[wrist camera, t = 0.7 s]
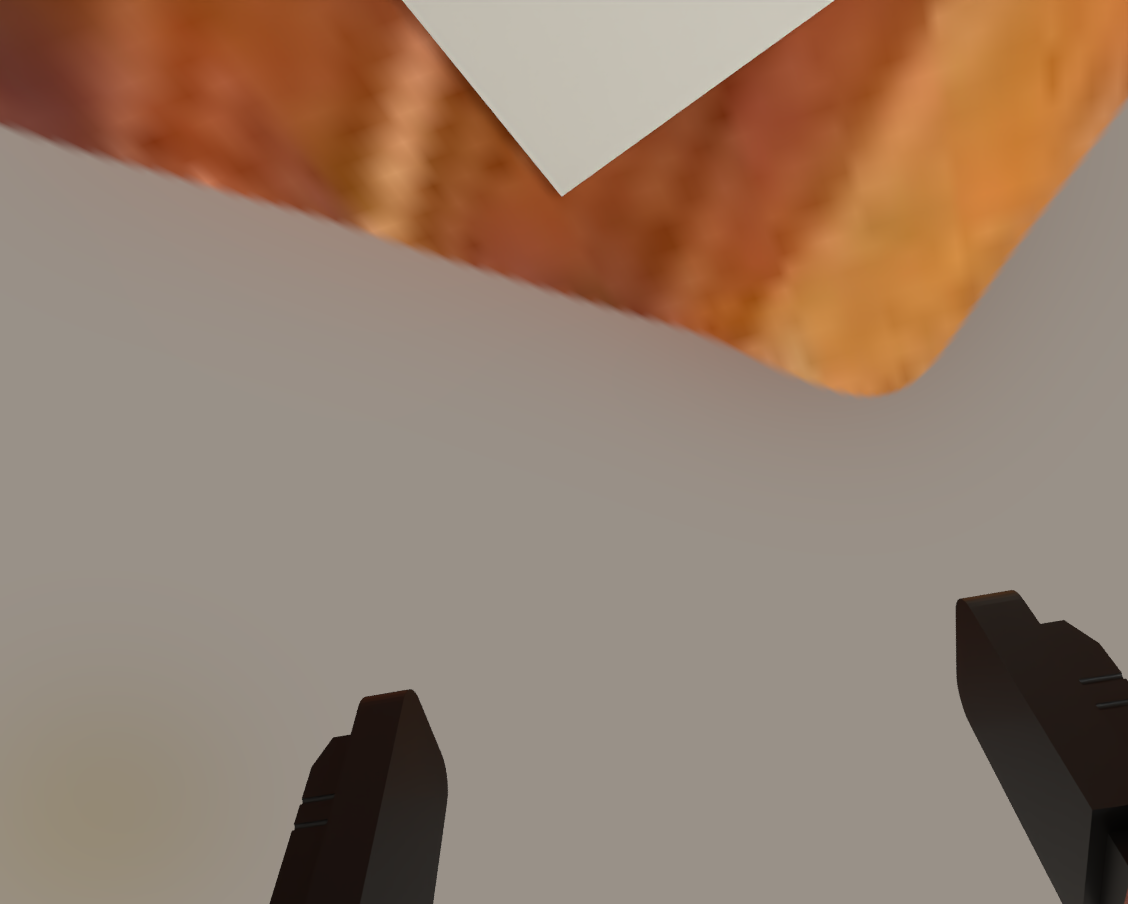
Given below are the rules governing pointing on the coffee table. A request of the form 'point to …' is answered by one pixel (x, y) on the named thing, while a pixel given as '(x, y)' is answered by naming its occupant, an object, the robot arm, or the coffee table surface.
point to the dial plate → (599, 65)
